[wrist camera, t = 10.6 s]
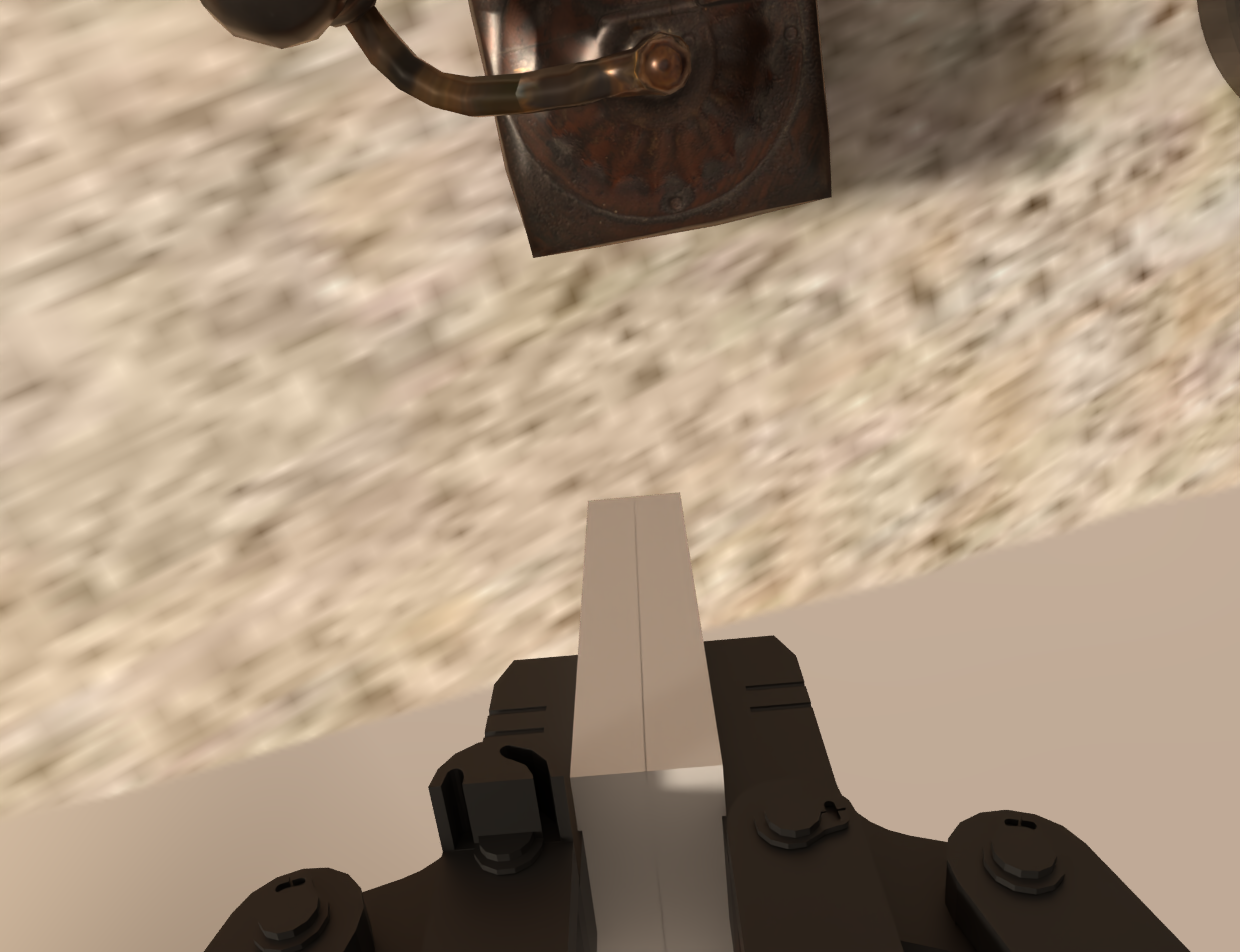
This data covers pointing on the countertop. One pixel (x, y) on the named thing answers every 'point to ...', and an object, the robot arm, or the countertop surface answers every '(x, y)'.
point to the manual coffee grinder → (614, 104)
